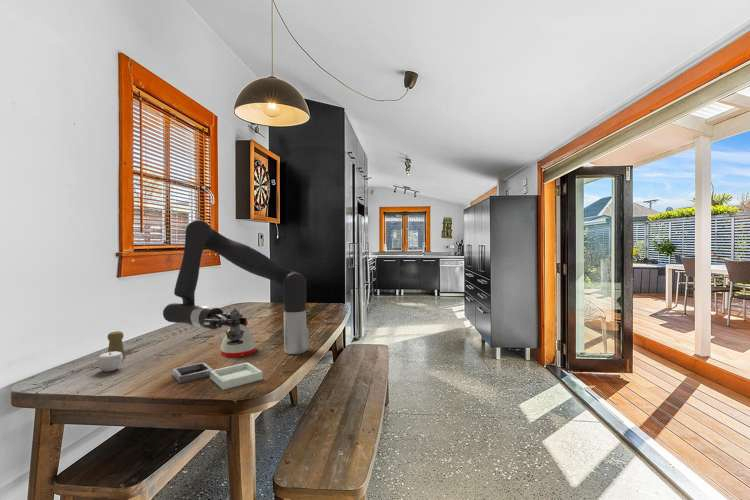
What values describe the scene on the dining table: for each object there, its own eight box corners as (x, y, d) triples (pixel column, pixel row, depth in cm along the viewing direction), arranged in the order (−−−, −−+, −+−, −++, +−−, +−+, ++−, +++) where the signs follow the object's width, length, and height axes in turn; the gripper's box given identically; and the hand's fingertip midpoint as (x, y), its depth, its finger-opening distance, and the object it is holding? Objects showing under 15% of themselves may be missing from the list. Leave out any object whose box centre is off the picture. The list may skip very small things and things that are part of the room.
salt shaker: (242, 345, 118) (242, 308, 118) (223, 345, 118) (223, 309, 117) (246, 340, 124) (245, 305, 124) (228, 340, 123) (227, 306, 123)
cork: (128, 357, 145) (128, 330, 144) (112, 362, 139) (111, 334, 139) (119, 356, 147) (118, 329, 147) (103, 360, 142) (102, 332, 142)
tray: (247, 369, 130) (247, 362, 130) (262, 379, 120) (262, 371, 120) (209, 378, 122) (209, 370, 122) (222, 389, 112) (222, 381, 112)
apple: (121, 364, 136) (121, 347, 136) (125, 370, 131) (125, 352, 131) (95, 370, 131) (94, 352, 131) (98, 375, 125) (97, 357, 125)
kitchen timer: (220, 349, 155) (219, 315, 155) (253, 345, 161) (253, 312, 160) (221, 359, 142) (220, 321, 142) (257, 354, 148) (257, 318, 148)
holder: (204, 367, 132) (204, 362, 132) (213, 375, 125) (213, 369, 124) (172, 374, 125) (172, 368, 125) (179, 383, 118) (179, 377, 118)
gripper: (188, 310, 121) (222, 315, 113) (224, 303, 134) (257, 307, 125) (188, 332, 121) (222, 338, 113) (224, 323, 134) (257, 329, 126)
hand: (240, 322), depth 119 cm, fingers closed on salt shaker, 3 cm apart
